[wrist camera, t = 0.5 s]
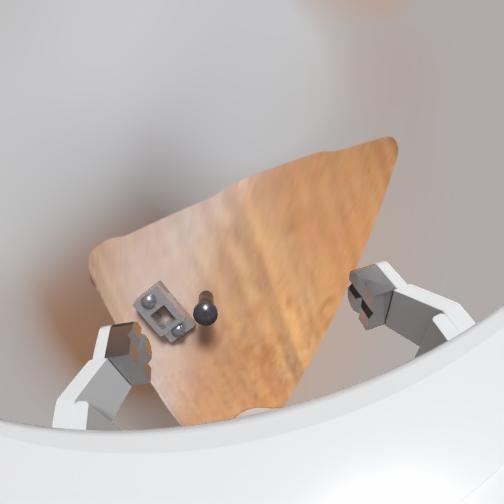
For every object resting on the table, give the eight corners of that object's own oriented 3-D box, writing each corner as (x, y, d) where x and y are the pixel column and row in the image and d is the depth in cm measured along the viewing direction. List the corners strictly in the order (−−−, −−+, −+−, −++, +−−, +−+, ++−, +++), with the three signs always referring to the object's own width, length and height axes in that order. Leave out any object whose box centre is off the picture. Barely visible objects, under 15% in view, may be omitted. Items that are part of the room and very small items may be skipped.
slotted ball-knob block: (195, 322, 60) (194, 331, 55) (172, 339, 60) (169, 349, 55) (160, 280, 58) (155, 286, 53) (137, 299, 57) (131, 306, 53)
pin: (220, 299, 60) (222, 316, 50) (204, 311, 60) (203, 329, 50) (207, 283, 59) (207, 298, 49) (191, 295, 59) (188, 312, 49)
